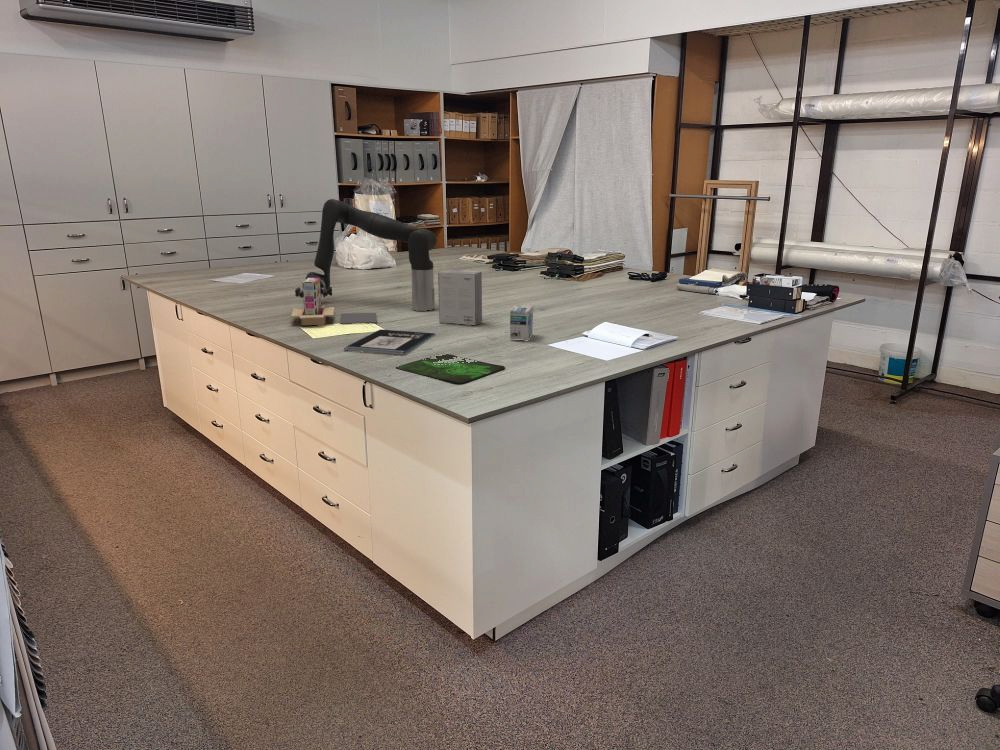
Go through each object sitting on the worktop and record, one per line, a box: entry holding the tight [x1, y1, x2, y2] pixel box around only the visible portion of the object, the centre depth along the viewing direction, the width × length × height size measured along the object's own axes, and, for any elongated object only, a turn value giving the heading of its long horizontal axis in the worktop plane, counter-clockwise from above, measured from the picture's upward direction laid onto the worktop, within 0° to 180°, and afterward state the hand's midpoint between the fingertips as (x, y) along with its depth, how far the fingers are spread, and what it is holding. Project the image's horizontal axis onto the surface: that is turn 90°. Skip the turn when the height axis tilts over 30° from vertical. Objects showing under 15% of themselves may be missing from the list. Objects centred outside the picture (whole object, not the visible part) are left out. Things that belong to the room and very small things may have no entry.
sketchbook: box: [343, 329, 436, 357], centre depth 232 cm, size 22×30×2 cm
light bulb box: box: [509, 304, 534, 341], centre depth 240 cm, size 11×7×11 cm, turn 168°
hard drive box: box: [437, 269, 483, 326], centre depth 260 cm, size 16×8×20 cm, turn 71°
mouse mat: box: [395, 353, 506, 385], centre depth 204 cm, size 27×22×1 cm
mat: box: [339, 312, 378, 325], centre depth 268 cm, size 14×18×1 cm
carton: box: [290, 305, 335, 326], centre depth 262 cm, size 16×22×4 cm
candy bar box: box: [302, 278, 322, 315], centre depth 261 cm, size 11×5×16 cm, turn 5°
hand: (312, 294), depth 264 cm, fingers open, 8 cm apart
